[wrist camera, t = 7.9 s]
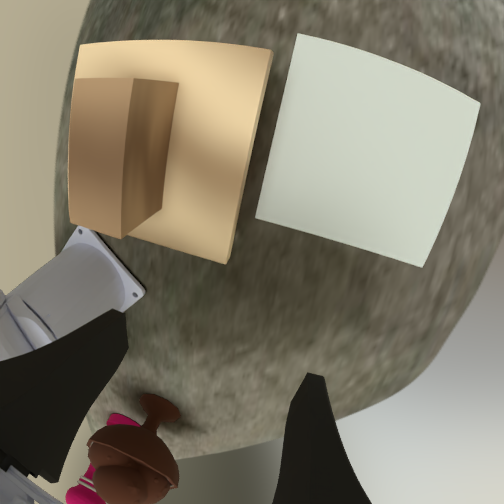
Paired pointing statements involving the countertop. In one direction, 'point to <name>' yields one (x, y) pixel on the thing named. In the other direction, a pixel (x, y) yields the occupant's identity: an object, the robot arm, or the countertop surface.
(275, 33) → the countertop surface
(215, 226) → the lid
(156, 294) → the countertop surface
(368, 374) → the countertop surface
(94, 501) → the pepper mill
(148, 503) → the ice cream bowl
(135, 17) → the countertop surface
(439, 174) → the mat
